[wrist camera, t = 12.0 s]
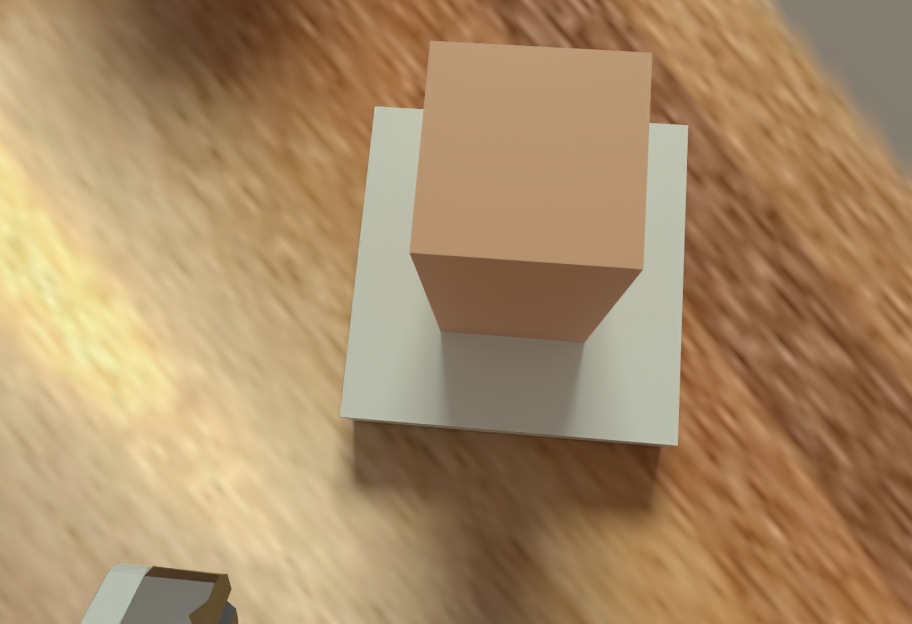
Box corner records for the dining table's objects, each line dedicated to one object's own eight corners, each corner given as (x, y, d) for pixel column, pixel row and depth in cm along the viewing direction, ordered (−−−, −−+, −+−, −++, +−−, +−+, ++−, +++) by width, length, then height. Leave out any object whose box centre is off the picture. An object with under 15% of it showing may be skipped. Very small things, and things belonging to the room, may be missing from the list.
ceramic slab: (661, 446, 27) (677, 445, 25) (353, 420, 28) (339, 416, 25) (671, 153, 29) (688, 125, 27) (384, 135, 30) (375, 106, 27)
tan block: (584, 342, 25) (643, 269, 16) (440, 331, 26) (409, 252, 16) (592, 204, 26) (652, 52, 17) (452, 195, 27) (430, 40, 17)
